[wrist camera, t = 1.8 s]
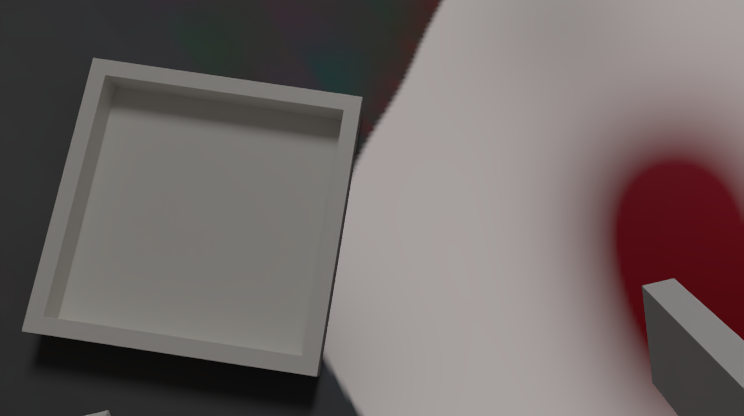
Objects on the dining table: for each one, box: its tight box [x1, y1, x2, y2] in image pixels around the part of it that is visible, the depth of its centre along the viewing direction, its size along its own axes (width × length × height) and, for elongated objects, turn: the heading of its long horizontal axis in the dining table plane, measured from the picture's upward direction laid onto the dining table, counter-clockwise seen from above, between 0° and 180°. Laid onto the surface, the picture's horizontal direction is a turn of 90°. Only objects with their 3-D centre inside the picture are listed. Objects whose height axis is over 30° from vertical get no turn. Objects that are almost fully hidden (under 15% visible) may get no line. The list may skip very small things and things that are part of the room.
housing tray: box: [22, 58, 362, 377], centre depth 41 cm, size 17×17×2 cm
